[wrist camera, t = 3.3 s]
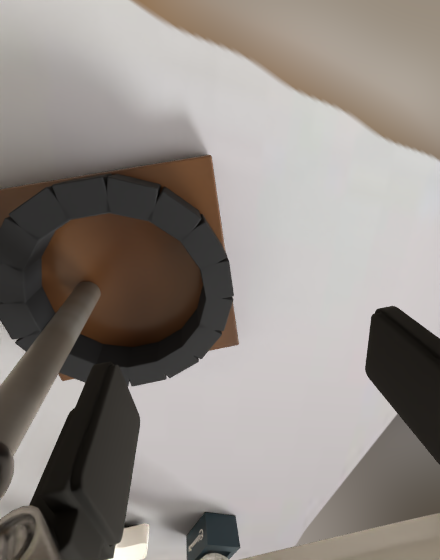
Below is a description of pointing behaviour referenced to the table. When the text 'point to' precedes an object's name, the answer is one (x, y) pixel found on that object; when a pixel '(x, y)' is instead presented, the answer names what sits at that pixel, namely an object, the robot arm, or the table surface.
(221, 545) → the watch
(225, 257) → the ring
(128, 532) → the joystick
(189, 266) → the stand
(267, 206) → the table surface
